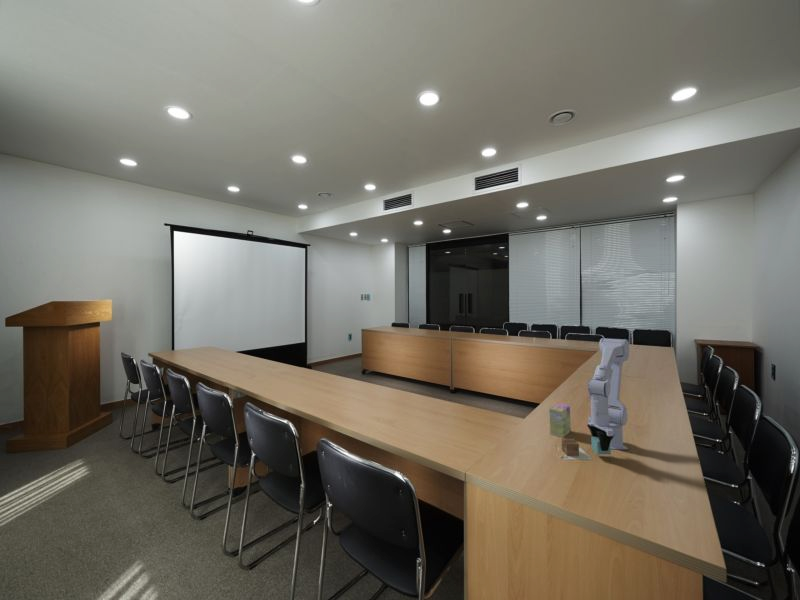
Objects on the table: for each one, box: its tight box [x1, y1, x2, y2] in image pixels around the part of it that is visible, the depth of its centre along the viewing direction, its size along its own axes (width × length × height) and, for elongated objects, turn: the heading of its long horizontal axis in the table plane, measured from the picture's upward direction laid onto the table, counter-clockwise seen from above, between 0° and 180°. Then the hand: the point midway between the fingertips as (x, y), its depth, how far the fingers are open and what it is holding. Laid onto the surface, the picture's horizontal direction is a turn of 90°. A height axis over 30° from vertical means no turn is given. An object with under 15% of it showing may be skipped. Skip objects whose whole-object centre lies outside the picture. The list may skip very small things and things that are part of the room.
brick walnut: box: [561, 438, 580, 456], centre depth 127 cm, size 5×5×5 cm
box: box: [548, 403, 572, 439], centre depth 146 cm, size 10×6×12 cm, turn 134°
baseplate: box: [552, 446, 593, 461], centre depth 127 cm, size 10×12×1 cm
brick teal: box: [590, 436, 612, 455], centre depth 123 cm, size 5×5×5 cm
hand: (600, 447), depth 123 cm, fingers closed on brick teal, 5 cm apart
